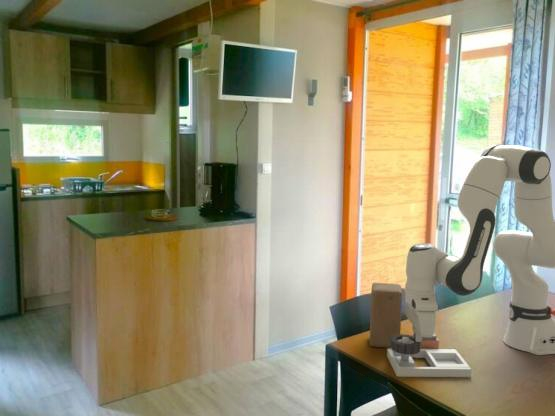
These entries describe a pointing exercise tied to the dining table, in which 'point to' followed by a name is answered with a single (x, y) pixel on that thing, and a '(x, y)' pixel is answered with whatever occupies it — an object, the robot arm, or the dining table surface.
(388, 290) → the wooden block
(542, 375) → the dining table surface
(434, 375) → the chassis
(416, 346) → the wheel
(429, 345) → the two-tone grey-capped cube
